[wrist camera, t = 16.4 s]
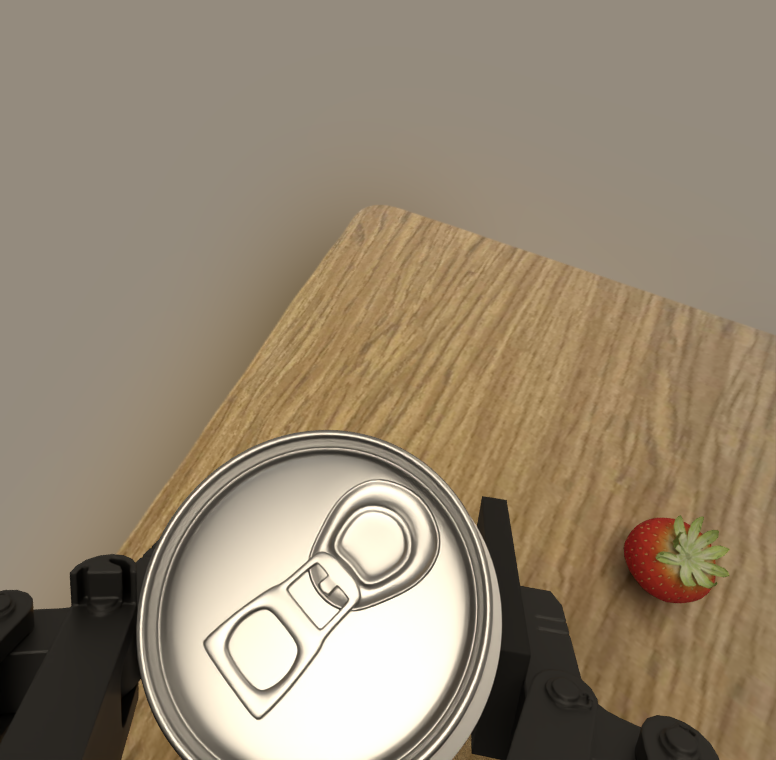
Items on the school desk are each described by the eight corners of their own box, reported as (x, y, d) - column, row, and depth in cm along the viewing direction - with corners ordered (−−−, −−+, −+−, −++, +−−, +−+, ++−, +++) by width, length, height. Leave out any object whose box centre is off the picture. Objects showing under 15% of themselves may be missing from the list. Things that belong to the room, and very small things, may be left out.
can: (492, 649, 19) (607, 596, 9) (353, 811, 17) (280, 1007, 6) (365, 516, 21) (335, 347, 11) (230, 643, 19) (31, 584, 9)
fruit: (673, 626, 36) (738, 611, 29) (594, 589, 38) (638, 566, 31) (688, 555, 39) (752, 526, 32) (613, 522, 40) (659, 487, 33)
